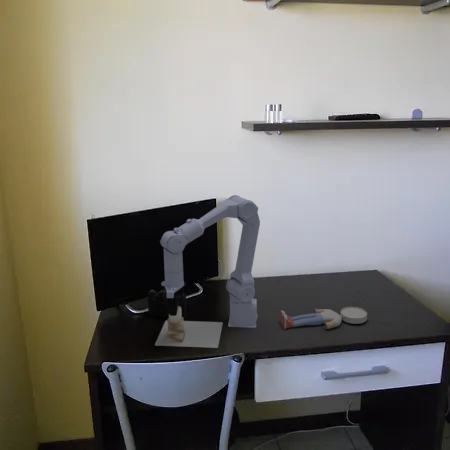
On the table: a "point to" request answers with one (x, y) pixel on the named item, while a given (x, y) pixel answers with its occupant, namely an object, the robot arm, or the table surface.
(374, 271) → the table surface
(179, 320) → the cylinder
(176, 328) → the slab top
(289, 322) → the toy
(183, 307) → the camera
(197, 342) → the mat
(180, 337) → the slab bottom
